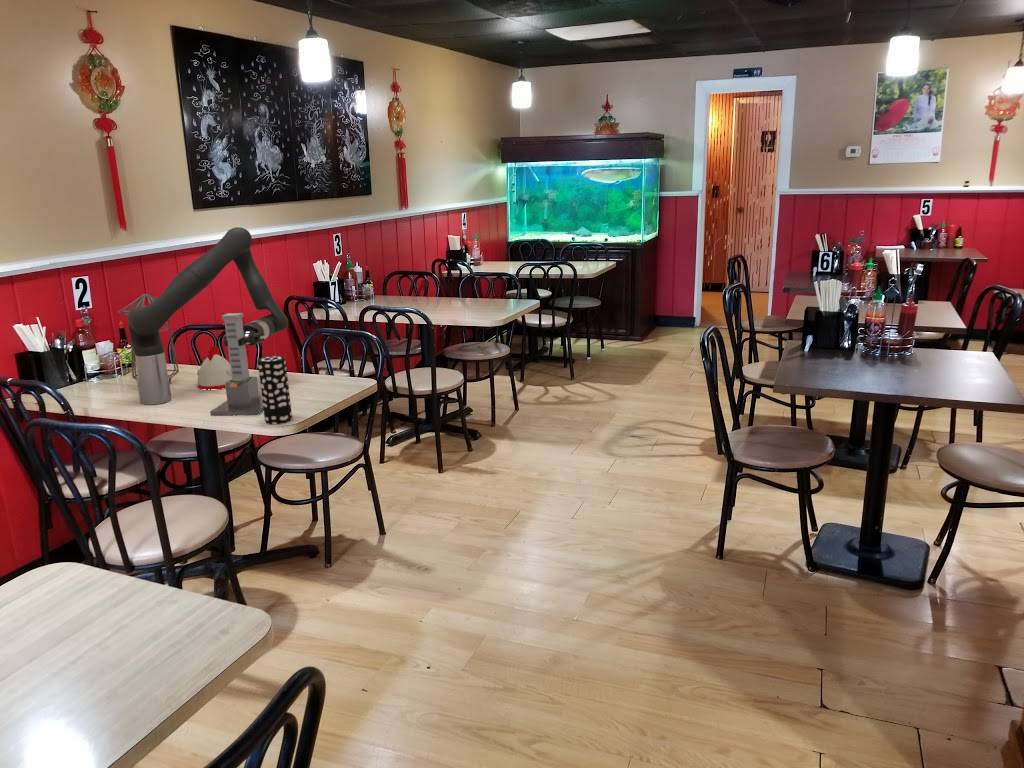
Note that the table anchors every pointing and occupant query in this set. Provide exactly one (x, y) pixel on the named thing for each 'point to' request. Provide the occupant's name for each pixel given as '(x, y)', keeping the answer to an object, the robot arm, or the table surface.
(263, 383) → the white-spotted black cylinder
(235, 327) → the stand post
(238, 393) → the stand base
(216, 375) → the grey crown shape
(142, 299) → the geometric lantern
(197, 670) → the table surface
